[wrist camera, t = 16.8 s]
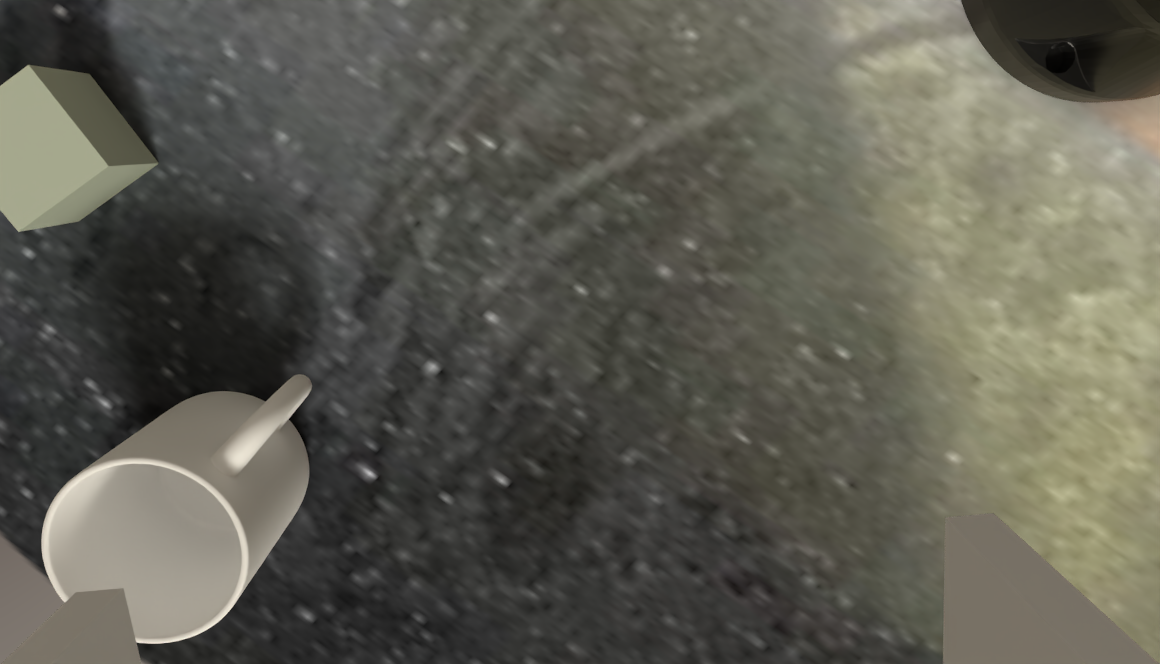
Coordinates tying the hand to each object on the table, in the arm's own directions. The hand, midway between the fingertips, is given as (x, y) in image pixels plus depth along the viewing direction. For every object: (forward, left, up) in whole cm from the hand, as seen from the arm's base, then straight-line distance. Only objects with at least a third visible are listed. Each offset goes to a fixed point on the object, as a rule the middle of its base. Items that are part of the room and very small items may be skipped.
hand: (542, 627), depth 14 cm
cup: (+16, +3, -31) cm, 35 cm away
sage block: (+19, -13, -31) cm, 39 cm away
